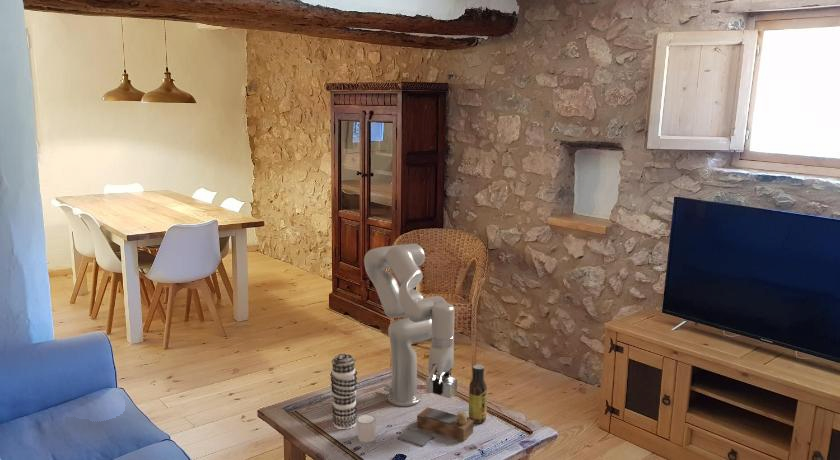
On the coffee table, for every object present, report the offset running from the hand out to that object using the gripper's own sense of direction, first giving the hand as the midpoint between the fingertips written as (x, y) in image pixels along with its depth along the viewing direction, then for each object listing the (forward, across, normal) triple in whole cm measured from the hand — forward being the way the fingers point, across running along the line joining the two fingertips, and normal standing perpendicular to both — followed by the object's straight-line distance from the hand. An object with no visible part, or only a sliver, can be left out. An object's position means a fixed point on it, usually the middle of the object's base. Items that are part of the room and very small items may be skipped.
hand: (441, 389), depth 214 cm
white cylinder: (+15, +18, -18) cm, 30 cm away
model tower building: (+15, +14, -30) cm, 37 cm away
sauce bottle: (+15, -12, +8) cm, 20 cm away
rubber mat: (+14, +10, -4) cm, 18 cm away
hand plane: (+14, 0, +2) cm, 14 cm away
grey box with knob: (+1, 0, 0) cm, 1 cm away
